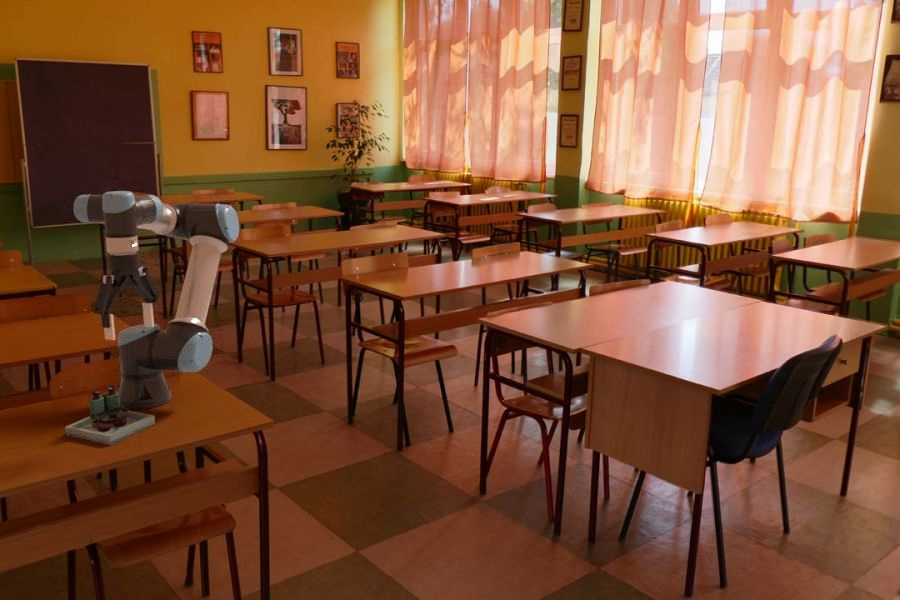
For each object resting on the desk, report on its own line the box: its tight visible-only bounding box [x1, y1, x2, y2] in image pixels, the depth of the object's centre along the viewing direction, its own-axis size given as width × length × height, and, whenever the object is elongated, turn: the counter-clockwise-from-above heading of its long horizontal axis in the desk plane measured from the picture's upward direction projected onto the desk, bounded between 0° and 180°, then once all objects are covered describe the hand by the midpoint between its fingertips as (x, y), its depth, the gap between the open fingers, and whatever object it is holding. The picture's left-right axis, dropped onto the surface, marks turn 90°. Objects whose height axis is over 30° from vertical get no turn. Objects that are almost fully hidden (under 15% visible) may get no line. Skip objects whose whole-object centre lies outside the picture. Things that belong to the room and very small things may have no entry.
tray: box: [64, 410, 156, 446], centre depth 215 cm, size 16×16×2 cm
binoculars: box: [88, 384, 129, 431], centre depth 214 cm, size 9×11×10 cm
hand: (130, 332), depth 205 cm, fingers open, 13 cm apart
